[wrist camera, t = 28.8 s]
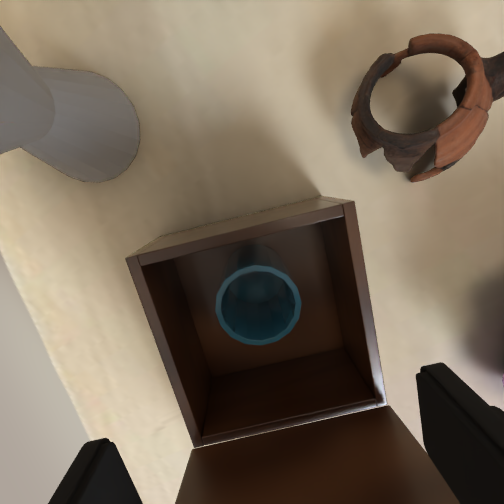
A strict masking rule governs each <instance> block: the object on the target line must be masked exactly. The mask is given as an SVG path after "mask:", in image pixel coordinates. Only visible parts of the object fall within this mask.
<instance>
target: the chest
mask: <svg viewBox="0 0 504 504" xmlns="http://www.w3.org/2000/svg"><path fill="white" fill-rule="evenodd" d="M252 244H259V245H264V246H267V247H269V248H271V249H273V250H274V251H276V252H277V253H278V254H279V255H280V256H281V258H282V259H283V261H284V262H285V264H286V266H287V268H288V270H289V272H290V274H291V276H292V278H293V280H294V282H295V284H296V286H297V288H298V291H299V295H300V299H301V309H300V316H299V319H298V321H297V322H296V324H295V325H294V327H293V329H292V330H291V331H290V332H289V333H288V334H287V335H285V336H284V337H283V338H281V339H280V340H278V341H276V342H273V343H269V344H265V345H250V344H244V343H242V342H240V341H238V340H236V339H234V338H232V337H230V335H229V334H228V333H227V332H226V331H225V330H224V329H223V328H222V327H221V325H220V323H219V320H218V318H217V315H216V312H215V305H216V295H217V291H218V287H219V283H220V280H221V276H222V272H223V268H224V266H225V264H226V262H227V260H228V258H229V257H230V256H231V254H232V253H234V252H235V251H236V250H237V249H239V248H241V247H243V246H246V245H252ZM125 259H126V262H127V265H128V267H129V270H130V273H131V276H132V278H133V281H134V284H135V287H136V289H137V292H138V295H139V298H140V300H141V303H142V306H143V308H144V311H145V314H146V317H147V319H148V322H149V325H150V328H151V330H152V333H153V336H154V339H155V341H156V344H157V347H158V350H159V352H160V355H161V358H162V361H163V363H164V366H165V369H166V372H167V374H168V377H169V380H170V383H171V385H172V388H173V391H174V393H175V396H176V399H177V402H178V404H179V407H180V410H181V413H182V415H183V418H184V421H185V424H186V426H187V429H188V432H189V435H190V437H191V440H192V443H193V446H194V448H196V447H200V446H204V445H208V444H213V443H217V442H222V441H226V440H231V439H235V438H240V437H244V436H249V435H253V434H258V433H262V432H267V431H271V430H276V429H280V428H284V427H289V426H293V425H298V424H302V423H307V422H311V421H316V420H320V419H325V418H329V417H334V416H338V415H343V414H347V413H352V412H356V411H360V410H365V409H369V408H374V407H379V406H383V405H387V400H386V393H385V387H384V381H383V375H382V369H381V362H380V356H379V350H378V344H377V338H376V331H375V325H374V319H373V313H372V307H371V300H370V294H369V288H368V282H367V276H366V269H365V263H364V257H363V251H362V245H361V238H360V232H359V226H358V220H357V214H356V207H355V202H354V201H351V200H344V199H338V198H332V197H325V196H319V197H315V198H311V199H307V200H303V201H300V202H296V203H292V204H288V205H284V206H280V207H276V208H272V209H268V210H264V211H260V212H256V213H252V214H248V215H244V216H240V217H236V218H232V219H228V220H224V221H220V222H216V223H212V224H208V225H204V226H200V227H196V228H192V229H188V230H184V231H180V232H176V233H172V234H168V235H164V236H160V237H159V238H157V239H155V240H154V241H152V242H151V243H149V244H147V245H146V246H144V247H142V248H141V249H139V250H138V251H136V252H134V253H133V254H131V255H129V256H128V257H126V258H125Z"/></svg>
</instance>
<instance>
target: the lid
mask: <svg viewBox="0 0 504 504" xmlns="http://www.w3.org/2000/svg"><path fill="white" fill-rule="evenodd" d="M175 504H460V503H459V501H458V500H457V498H456V497H455V495H454V494H453V492H452V490H451V489H450V487H449V486H448V484H447V483H446V481H445V480H444V478H443V477H442V475H441V474H440V472H439V471H438V469H437V468H436V466H435V465H434V463H433V462H432V460H431V459H430V457H429V455H428V454H427V453H426V451H425V450H424V449H423V448H422V446H421V445H420V444H419V442H418V441H417V440H416V439H415V437H414V436H413V435H412V434H411V432H410V431H409V430H408V428H407V427H406V426H405V425H404V423H403V422H402V421H401V419H400V418H399V417H398V416H397V414H396V413H395V412H394V410H393V409H392V408H391V407H390V406H389V405H388V406H383V407H379V408H374V409H370V410H365V411H361V412H357V413H352V414H348V415H343V416H339V417H334V418H330V419H325V420H321V421H316V422H312V423H307V424H303V425H298V426H294V427H289V428H285V429H280V430H276V431H272V432H267V433H263V434H258V435H254V436H249V437H245V438H240V439H236V440H231V441H227V442H222V443H218V444H213V445H209V446H204V447H200V448H195V449H192V451H191V455H190V458H189V461H188V464H187V467H186V470H185V474H184V477H183V480H182V483H181V486H180V490H179V493H178V496H177V499H176V502H175Z"/></svg>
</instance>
